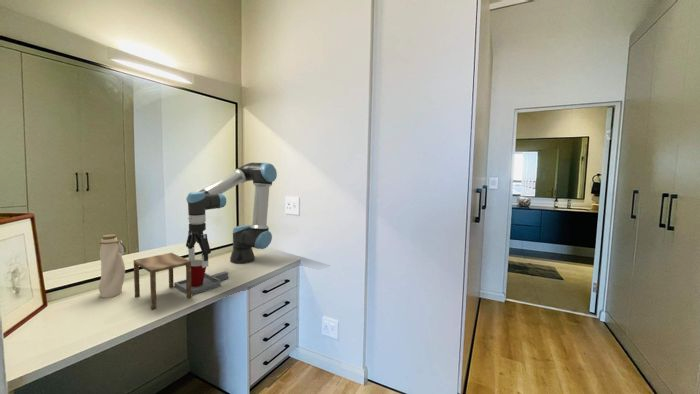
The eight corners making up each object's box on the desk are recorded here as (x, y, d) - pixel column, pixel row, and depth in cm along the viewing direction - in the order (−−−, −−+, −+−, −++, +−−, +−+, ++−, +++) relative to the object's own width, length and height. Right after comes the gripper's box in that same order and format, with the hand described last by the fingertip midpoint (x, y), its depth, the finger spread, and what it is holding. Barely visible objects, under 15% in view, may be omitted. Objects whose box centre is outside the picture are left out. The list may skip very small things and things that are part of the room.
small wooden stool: (172, 286, 146) (171, 252, 145) (191, 297, 135) (190, 261, 133) (134, 296, 133) (133, 260, 132) (152, 310, 122) (151, 270, 120)
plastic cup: (213, 283, 149) (213, 261, 148) (192, 290, 140) (192, 266, 139) (200, 278, 154) (200, 257, 153) (180, 285, 145) (179, 262, 144)
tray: (218, 274, 164) (218, 268, 164) (234, 281, 155) (234, 275, 155) (174, 286, 145) (174, 280, 145) (189, 295, 136) (189, 289, 136)
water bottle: (125, 287, 143) (123, 232, 140) (128, 293, 136) (126, 235, 134) (98, 293, 135) (95, 234, 133) (99, 299, 129) (97, 238, 126)
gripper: (177, 220, 148) (179, 260, 150) (202, 227, 134) (203, 271, 136) (192, 218, 154) (193, 256, 157) (217, 225, 140) (218, 267, 142)
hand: (198, 263), depth 146 cm, fingers open, 13 cm apart
